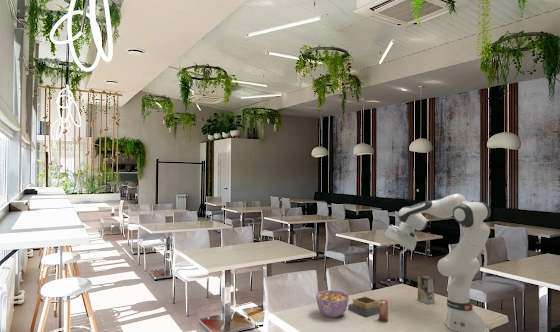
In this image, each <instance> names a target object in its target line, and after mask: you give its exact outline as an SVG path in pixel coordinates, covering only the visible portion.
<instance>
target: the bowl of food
mask: <svg viewBox="0 0 560 332" xmlns="http://www.w3.org/2000/svg"><path fill="white" fill-rule="evenodd" d="M315 298H316V303H317V307H318V310H319V311H320V313H321V314H323V315H324V316H326V317H328V318H338V317H340V316H342V315H343V314H345V313H346V310H347V307H348V305H349V300H350V295H348V293H346V292H344V291H339V290H331V289H330V290H329V289H328V290H321V291H318V292H317V293H315Z"/></svg>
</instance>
